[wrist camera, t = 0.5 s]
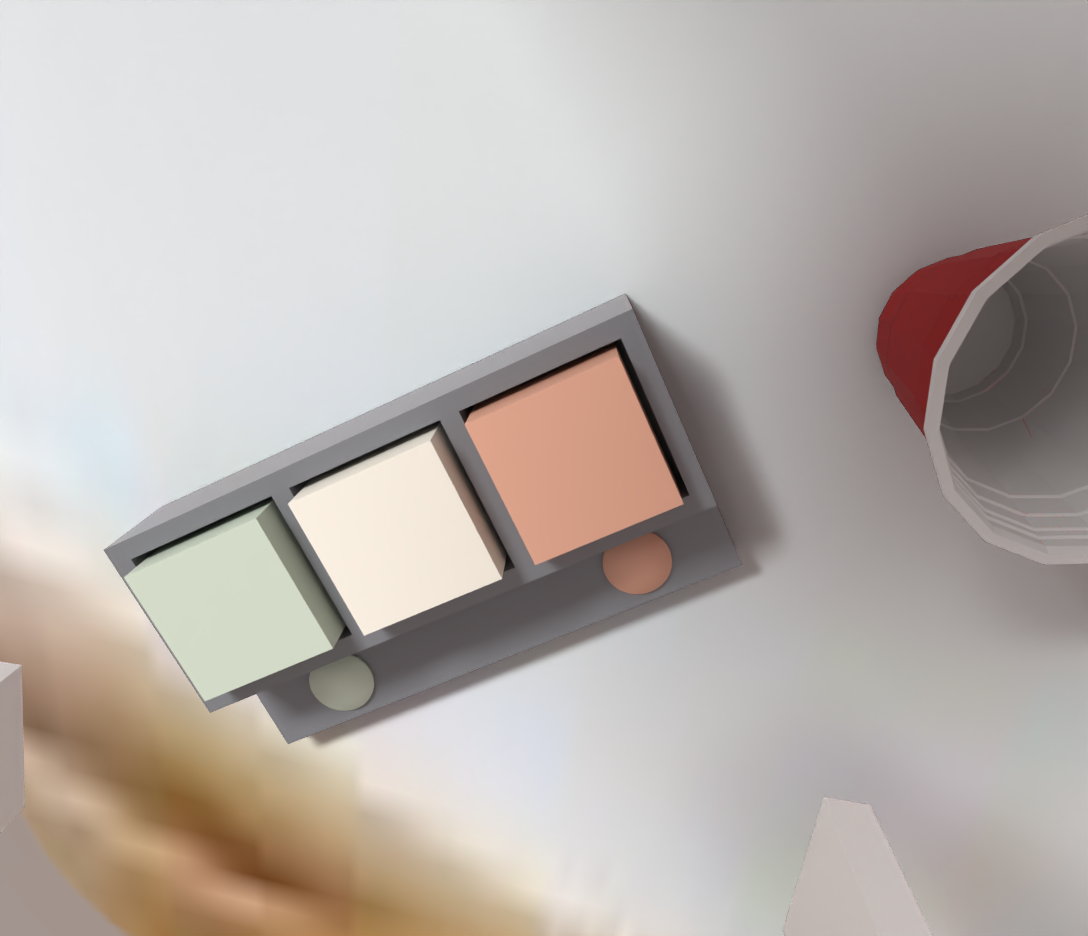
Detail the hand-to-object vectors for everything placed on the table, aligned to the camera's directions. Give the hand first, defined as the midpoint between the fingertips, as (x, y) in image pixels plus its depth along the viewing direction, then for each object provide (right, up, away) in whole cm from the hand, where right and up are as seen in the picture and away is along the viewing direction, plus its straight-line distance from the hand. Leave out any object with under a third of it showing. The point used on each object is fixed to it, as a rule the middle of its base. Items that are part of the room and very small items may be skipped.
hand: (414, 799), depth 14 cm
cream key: (-3, +4, +21) cm, 22 cm away
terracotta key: (+3, +6, +20) cm, 21 cm away
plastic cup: (+19, +11, +22) cm, 31 cm away
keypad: (-2, +3, +25) cm, 25 cm away
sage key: (-10, +1, +22) cm, 25 cm away
